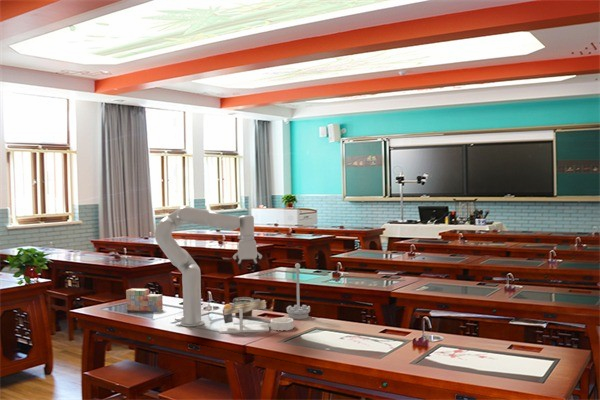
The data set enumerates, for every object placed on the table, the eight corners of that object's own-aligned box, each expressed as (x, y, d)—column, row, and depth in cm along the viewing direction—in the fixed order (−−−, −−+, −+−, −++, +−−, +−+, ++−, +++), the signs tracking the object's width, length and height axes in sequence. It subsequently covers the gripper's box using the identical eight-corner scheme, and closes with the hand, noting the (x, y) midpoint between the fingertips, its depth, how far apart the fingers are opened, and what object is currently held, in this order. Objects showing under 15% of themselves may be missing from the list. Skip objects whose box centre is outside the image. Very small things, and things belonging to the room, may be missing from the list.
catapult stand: (219, 333, 294) (218, 311, 294) (220, 327, 306) (219, 306, 306) (269, 331, 297) (268, 309, 296) (267, 325, 309) (267, 304, 308)
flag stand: (307, 319, 321) (306, 265, 320) (284, 319, 323) (283, 264, 322) (312, 314, 333) (311, 261, 333) (289, 313, 336) (288, 261, 335)
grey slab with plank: (224, 323, 297) (222, 310, 297) (225, 315, 315) (223, 303, 314) (267, 315, 299) (265, 302, 299) (266, 308, 317) (264, 296, 316)
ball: (224, 313, 298) (222, 306, 298) (225, 311, 302) (223, 304, 302) (232, 311, 298) (230, 303, 298) (232, 309, 302) (230, 302, 302)
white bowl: (271, 331, 297) (270, 323, 297) (269, 325, 309) (269, 317, 309) (294, 330, 298) (294, 322, 298) (292, 324, 310) (292, 317, 310)
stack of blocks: (163, 309, 353) (162, 289, 352) (157, 312, 347) (156, 291, 346) (132, 308, 359) (131, 288, 359) (126, 310, 353) (125, 289, 353)
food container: (256, 314, 336) (255, 297, 335) (254, 316, 330) (254, 299, 329) (235, 314, 337) (234, 296, 337) (232, 316, 331) (232, 299, 330)
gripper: (231, 239, 314) (231, 272, 314) (263, 238, 315) (264, 271, 316) (231, 237, 321) (231, 270, 322) (263, 237, 323) (263, 269, 323)
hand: (247, 270), depth 319 cm, fingers open, 7 cm apart
